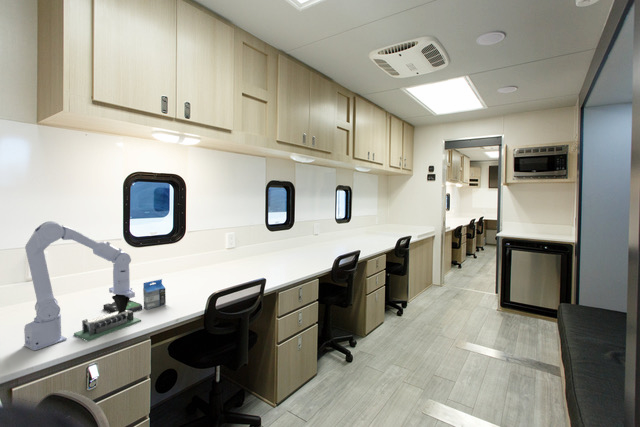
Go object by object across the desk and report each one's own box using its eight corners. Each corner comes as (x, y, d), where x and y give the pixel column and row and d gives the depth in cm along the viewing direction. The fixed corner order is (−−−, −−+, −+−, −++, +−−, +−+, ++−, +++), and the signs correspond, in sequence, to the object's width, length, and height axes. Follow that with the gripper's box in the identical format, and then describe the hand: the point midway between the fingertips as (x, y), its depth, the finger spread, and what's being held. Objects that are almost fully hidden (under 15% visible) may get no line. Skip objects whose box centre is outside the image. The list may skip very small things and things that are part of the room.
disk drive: (102, 310, 140) (119, 317, 133) (102, 304, 140) (119, 311, 132) (126, 303, 149) (143, 309, 142) (125, 298, 149) (143, 304, 141)
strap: (88, 329, 113) (88, 323, 113) (84, 327, 114) (84, 321, 114) (127, 315, 126) (127, 310, 126) (123, 314, 127) (123, 308, 127)
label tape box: (147, 309, 141) (146, 284, 140) (143, 307, 143) (143, 282, 142) (165, 304, 148) (165, 280, 147) (162, 302, 150) (161, 278, 149)
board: (88, 341, 110) (88, 330, 110) (73, 335, 114) (73, 324, 114) (141, 321, 128) (140, 311, 128) (126, 316, 132) (126, 307, 132)
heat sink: (91, 336, 112) (91, 323, 112) (81, 332, 115) (81, 320, 115) (127, 323, 124) (126, 311, 124) (117, 319, 127) (116, 308, 127)
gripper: (141, 280, 125) (142, 311, 126) (120, 275, 131) (121, 305, 132) (124, 284, 119) (125, 317, 119) (103, 279, 125) (104, 310, 126)
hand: (122, 311), depth 125 cm, fingers closed, pressing on strap
